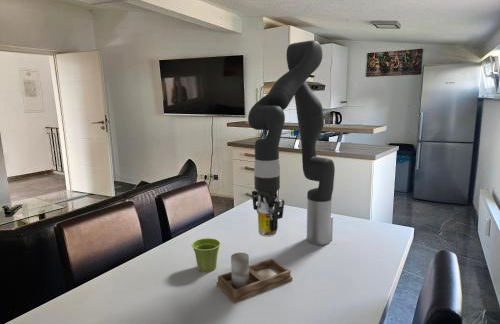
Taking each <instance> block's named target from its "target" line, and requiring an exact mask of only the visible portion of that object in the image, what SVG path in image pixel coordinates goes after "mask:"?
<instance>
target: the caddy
mask: <svg viewBox="0 0 500 324" xmlns="http://www.w3.org/2000/svg"><path fill="white" fill-rule="evenodd" d="M249 258H250V257H249V254H248V253H246V252H235V253H232V254H231V256H230V266H231V267H230V268H231V271H229V272H226V273H223V274H220V275H217V281H215V282H216V283H215V285H216V287H217V288H219V290H220V291H221V292H222V293H223V294H224V295H225V296H226V297H227V298H228V299H229V300H230V301H231V302H232V303H233V304H235V303H238V302H241V301H244V300H246V299H248V298H251V297H253V296H256V295H259V294H262V293H265V292H267V291H269V290H272V289H275V288H277V287H280V286H282V285H285V284H288V283H291V282H293V277H292V276H291V270H289V269H288V268H286V267H285V266H284V265H282V264H280V263H279V262H278V261H276V260H274V259H273V258H269V259H265V260H263V261H259V262H256V263H253V264H250V263H249V262H250V259H249Z"/></svg>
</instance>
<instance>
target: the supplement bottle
mask: <svg viewBox="0 0 500 324" xmlns="http://www.w3.org/2000/svg"><path fill="white" fill-rule="evenodd" d="M270 209H274V207H271V208H270ZM272 214H273V215H274V211H272ZM257 219H258V220H257V222H258V224H257V225H258V235H260V236H262V237H266V238H267V237H273V236H275V235H276V234H277V233H278V232H277V231H278V229H277V230H276V231H273V232H272V231H270V216H269V213H268V212H267V210H266V206H265V203H264V202H261V207H260V208H259V209H258V213H257Z"/></svg>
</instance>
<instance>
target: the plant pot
mask: <svg viewBox="0 0 500 324" xmlns="http://www.w3.org/2000/svg"><path fill="white" fill-rule="evenodd" d="M220 246H221V241H220V240H218V239H217V238H210V237H206V238H205V237H204V238H199V239H197V240H194V241H193V242H192V244H191V247H192V248H193V251H194V254H195V259H196V266H197V269H198V271H200V272H202V273H203V272H209V273H210V272H213V271H214V270H215V269H217V262H218V255H219V254H218V253H219V250H220Z"/></svg>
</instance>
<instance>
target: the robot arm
mask: <svg viewBox="0 0 500 324" xmlns="http://www.w3.org/2000/svg"><path fill="white" fill-rule="evenodd" d="M287 46H288V47H287V48H286V56H285V57H286V64H287V68H288V71H287V72H285V73H284V74H283V75H281V77H279V78H278V79H277V80H276V81H275V82H274V84H273V85H272V87H271V89H270V90H269V91H268V93H267V94H266V95H264V96H263V97H261V98H260V99H259V100H258V101H257V102H255V104H253V106H252V107H251V108H250V110H249V112H248V116H247V121H248V125H249V126H250V128H252V129H253V130H257V131H267V134H266V136H265V137H261V138H258V139H256V140H255V142H254V164H253V165H254V168H253V169H254V170H253V172H254V174H253V175H254V176H253V177H254V178H253V179H254V189H255V190H252V191H251V198H252V205H253V210H254V211H256V214H258V209H259V208H260V207H261V202H264V203H265V206H266V210H267V212H268V213H269V216H270V231H272V232H273V231H276V230H277V231H278V227H279V225H278V220H279V219H283V216H284V210H285V209H284V208H285V199H283V198H282V199H280V198H279V196H278V191H279V190H280V187H281V186H280V185H281V184H280V181H281V177H280V176H281V173H280V172H281V169H280V159H279V158H280V155H279V154H280V153H279V151H280V150H279V149H280V141H281V137H282V132H283V129H284V126H285V122H286V121H285V119H286V116H285V112H284V110H286V109H287V108H288V106H289V105H290V102H292V99H293V98H294V100H295V101H294V103H295V107H296V108H295V110H296V117H297V123H298V129H299V136H300V144H301V158H302V159H301V160H302V161H301V162H302V172H303V175H304V177H305V178H306V179H307V180H309V181H312V182H318V187H316V188H311V189H309V190H308V191H307V195H306V196H307V197H306V198H307V199H306V200H307V201H306V241H307V242H308V243H310V244H312V245H318V246H319V245H320V246H324V245H328V244H330V242H331V241H333V229H334V227H333V224H334V217H333V216H332V198H333V191H334V184H335V183H334V181H335V173H336V172H335V169H336V168H335V162H334V161H333V160H332V159H331V158H328V157H321V156H320V157H319V156H317V153H316V143H317V141H318V140H319V137H320V135H321V133H322V130H324V129H323V128H324V125H325V118H324V109H323V105H322V103H321V101H320V99H319V98H318V97H317V95H316V94H315V93H314V91H313V90H312V89H311V88H310V86H309V85H308V83H307V80H308V79H309V77H310V76H312V74H313V73H314V72H315V71H316V70H317V69H318V68H319V66H320V65H321V63H322V60H323V49H322V45H321V44H320V42H318V41H317V40H314V39H313V40H306V41H300V42H294V43H290V44H289V45H287ZM271 207H274V209H270V208H271ZM272 211H274V215H273V214H272Z"/></svg>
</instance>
